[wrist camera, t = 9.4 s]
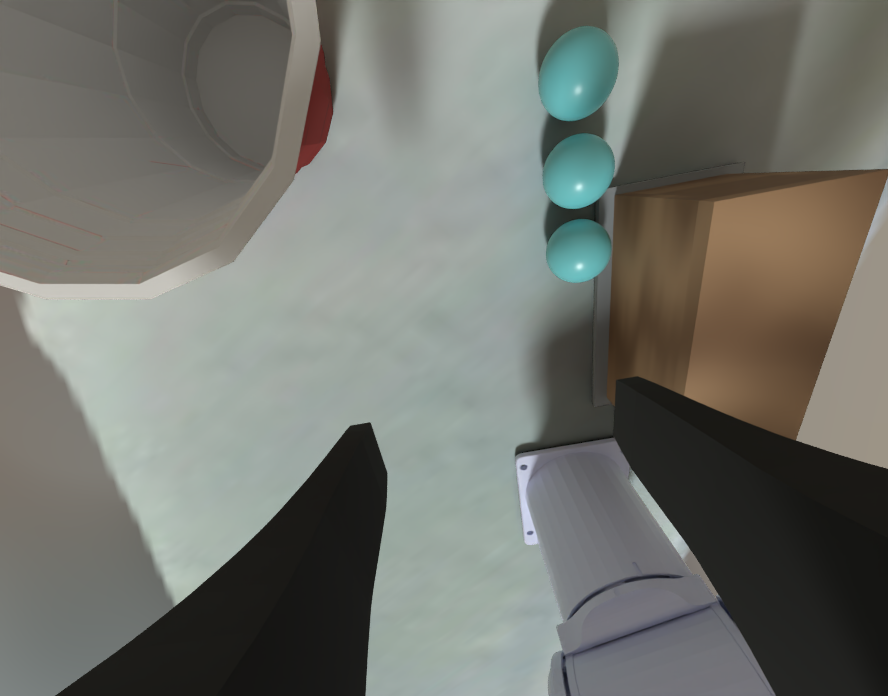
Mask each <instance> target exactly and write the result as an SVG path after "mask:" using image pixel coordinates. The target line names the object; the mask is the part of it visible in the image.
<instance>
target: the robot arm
mask: <svg viewBox="0 0 888 696" xmlns="http://www.w3.org/2000/svg"><path fill="white" fill-rule="evenodd" d="M613 436H614V438H609V439H603V440H597V441H591V442H585V443H579V444H573V445H567V446H561V447H555V448H549V449H543V450H537V451H531V452H525V453H520V454H518V455H517V456H516V457H515V465H516V474H517V483H518V492H519V500H520V509H521V518H522V527H523V536H524V541H525V543H526V544H528V545H533V544H539V547H540V550H541V554H542V557H543V560H544V563H545V567H546V570H547V573H548V576H549V579H550V583H551V586H552V589H553V592H554V596H555V599H556V602H557V605H558V608H559V612H560V615H561V618H562V620H563V623H562V624H560V625H557V627H556V628H557V632H558V635H559V639H560V642H561V646H562V649H563V650H561V651H559V652H556V653H554V655H553V656H552V659H551V668H550V672H549V676H548V694H549V696H888V469H886V468H883V467H879V466H875V465H871V464H868V463H864V462H861V461H858V460H854V459H851V458H848V457H844V456H841V455H838V454H835V453H832V452H829V451H826V450H823V449H820V448H817V447H813V446H811V445H808V444H804V443H802V442H798V441H795V440H793V439H790V438H787V437H784V436H781V435H779V434H776V433H773V432H771V431H768V430H765V429H763V428H760V427H758V426H755V425H752V424H750V423H747V422H745V421H742V420H740V419H737V418H735V417H732V416H730V415H727V414H725V413H723V412H720V411H718V410H715V409H713V408H711V407H709V406H706V405H704V404H702V403H699V402H697V401H695V400H692V399H690V398H688V397H686V396H683V395H681V394H679V393H677V392H674V391H672V390H670V389H668V388H665V387H663V386H661V385H658V384H656V383H654V382H651V381H649V380H646V379H644V378H641V377H638V376H635V377H630V378H624V379H618V380H616V391H615V410H614V430H613ZM521 465H524V466H521ZM629 467H631V468H632V470H633V471H634V473H635V474H636V475H637V477H638V478H639V480H640V481H641V482H642V484H643V485H644V486H645V488H646V489H647V491H648V492H649V493H650V495H651V496H652V497H653V499H654V500H655V501H656V503H657V504H658V505H659V507H660V508H661V510H662V511H663V512H664V514H665V515H666V516H667V518H668V519H669V520H670V522H671V523H672V524H673V526H674V527H675V529H676V530H677V531H678V533H679V534H680V535H681V537H682V538H683V539H684V541H685V542H686V544H687V545H688V547H689V548H690V550H691V551H692V552H693V554H694V555H695V557H696V558H697V560H698V562H699V563H700V564H701V566H702V568H703V570H704V571H705V573H706V575H707V576H708V578H709V580H710V581H711V583H712V585H713V586H714V588H715V590H716V591H717V593H718V594H719V595H716V598H717V600H716V598H715V597H714V595H713V594H712V593H711V591H710V590H709V588H708V587H707V585H706V584H705V582H704V581H703V580H702V578H701V577H700V575H698V574H694V575H693V574H692V573H691V571H690V570H689V568H688V567H687V565H686V564H685V562H684V561H683V559H682V558H681V556H680V555H679V553H678V552H677V550H676V549H675V548H674V546H673V545H672V543H671V542H670V540H669V539H668V537H667V536H666V534H665V533H664V531H663V530H662V528H661V527H660V526H659V524H658V523H657V521H656V520H655V518H654V517H653V515H652V514H651V512H650V511H649V509H648V508H647V507H646V505H645V504H644V502H643V501H642V499H641V498H640V496H639V495H638V493H637V492H636V490H635V489H634V487H633V486H632V485H631V483H630V482H629ZM386 502H387V471H386V468H385V465H384V462H383V459H382V456H381V453H380V450H379V447H378V444H377V441H376V438H375V435H374V432H373V429H372V426H371V423H370V422H369V423H364V424H358V425H352V426H350V427H349V428H348V429H347V430H346V431H345V433H344V434H343V435H342V437H341V438H340V439H339V440H338V442H337V443H336V444H335V445H334V447H333V448H332V449H331V451H330V452H329V453H328V454H327V456H326V457H325V458H324V459H323V461H322V462H321V463H320V464H319V466H318V467H317V468H316V469H315V471H314V472H313V473H312V474H311V475H310V477H309V478H308V479H307V480H306V481H305V483H304V484H303V485H302V486H301V487H300V488H299V489H298V491H297V492H296V493H295V494H294V495H293V496H292V497H291V498H290V500H289V501H288V502H287V503H286V504H285V505H284V506H283V508H282V509H281V510H280V511H279V512H278V513H277V514H276V515H275V516H274V517H273V518H272V519H271V520H270V521H269V522H268V523H267V524H266V526H265V527H264V528H263V529H262V530H261V531H260V532H258V533H257V534H256V535H255V536H254V537H253V538H252V539H251V540H250V541H249V542H248V543H247V544H246V545H245V546H244V547H243V548H242V549H241V550H240V551H239V552H238V553H237V554H236V555H234V556H233V557H232V558H231V559H230V560H229V561H228V562H227V563H225V564H224V565H223V566H222V567H221V568H220V569H219V570H217V571H216V572H215V573H214V574H213V575H212V576H211V577H209V578H208V579H207V580H206V581H205V582H204V583H203V584H201V585H200V586H199V587H198V588H197V589H196V590H195V591H193V592H192V593H191V594H190V595H189V596H187V597H186V598H185V599H184V600H183V601H181V602H180V603H179V604H178V605H176V606H175V607H174V608H173V609H171V610H170V611H169V612H168V613H166V614H165V615H164V616H163V617H161V618H160V619H159V620H158V621H156V622H155V623H154V624H152V625H151V626H150V627H149V628H147V629H146V630H145V631H144V632H142V633H141V634H140V635H138V636H137V637H136V638H134V639H133V640H132V641H130V642H129V643H128V644H126V645H125V646H124V647H122V648H121V649H120V650H118V651H117V652H116V653H114V654H113V655H111V656H110V657H109V658H107V659H106V660H104V661H103V662H102V663H100V664H99V665H97V666H96V667H95V668H93V669H92V670H91V671H89V672H88V673H86V674H85V675H84V676H82V677H81V678H79V679H78V680H77V681H75V682H74V683H72V684H71V685H70V686H68V687H67V688H65V689H64V690H63V691H61V692H60V693H58V694H57V695H56V696H365V693H366V675H367V656H368V642H369V628H370V614H371V604H372V595H373V588H374V581H375V575H376V569H377V563H378V557H379V550H380V544H381V538H382V532H383V525H384V519H385V512H386Z"/></svg>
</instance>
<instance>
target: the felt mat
mask: <svg viewBox="0 0 888 696" xmlns="http://www.w3.org/2000/svg"><path fill="white" fill-rule="evenodd" d="M744 166H745V162H742V163H735V164H729V165H724V166H719V167H714V168H708V169H703V170H698V171H693V172H687V173H682V174H677V175H672V176H666V177H661V178H656V179H651V180H645V181H640V182H635V183H630V184H624V185H619V186H614V187H609V188H608V189H607V190H606V192H605V193H604V194H603V195H602V196H601V197H600V198H599V199H598V200H596V207H595V222H597V223H599V224H600V225H601V226H602V227H603V228H604V229H605V230H606V231H607V232H608V234H609V236H610V239H611V244H612V248H613V222H614V197H615V195H618V194H624V193H629V192H634V191H639V190H645V189H650V188H655V187H661V186H666V185H671V184H677V183H682V182H687V181H692V180H698V179H703V178H708V177H714V176H719V175H724V174H738V173H743V171H744ZM611 273H612V251H611V257H610V260H609V262H608V264H607V265H606V267H605V268H604V270H603V271H602V272H601V273H600V274H598V275H597V276H596V277H594V329H593V390H592V404H593V405H594V406H595V407H599V406H604V405H610V404H612V403H611V402H610V400H609V399H608V398H607V375H608V349H609V324H610V299H611Z"/></svg>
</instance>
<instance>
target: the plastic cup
mask: <svg viewBox="0 0 888 696" xmlns="http://www.w3.org/2000/svg"><path fill="white" fill-rule="evenodd" d="M332 115H333V106H332V97H331V88H330V78H329V75H328V72H327V69H326V66H325V57H324V52H323V48H322V45H321V39H320V31H319V23H318V16H317V8H316V0H0V285H1V286H4V287H7V288H11V289H14V290H17V291H21V292H24V293H27V294H30V295H34V296H37V297H40V298H44V299H152V298H155V297H157V296H159V295H161V294H163V293H166V292H168V291H170V290H172V289H175V288H177V287H179V286H181V285H183V284H186V283H188V282H190V281H192V280H194V279H197V278H199V277H201V276H203V275H205V274H208V273H210V272H212V271H214V270H216V269H219V268H221V267H223V266H225V265H228V264H230V263H232V262H234V260H235V259H236V258H237V256H238V255H239V254H240V252H241V251H242V250H243V248H244V247H245V246H246V244H247V243H248V241H249V240H250V239H251V237H252V236H253V235H254V233H255V232H256V231H257V229H258V228H259V227H260V225H261V224H262V222H263V221H264V220H265V218H266V217H267V216H268V214H269V213H270V212H271V210H272V209H273V208H274V206H275V205H276V203H277V202H278V201H279V199H280V198H281V197H282V195H283V194H284V193H285V191H286V190H287V189H288V187H289V186H290V184H291V183H292V182H293V180H294V177H295V174H296V173H298V171H299V170H300V169H301V167H304V166H306V165H308V164H310V162H311V161H312V160H313V158H314V157H315V156H316V155H317V153H318V152H319V151H320V149H321V148H322V147H323V145H324V144H325V143H326V140H327V136H328V132H329V128H330V124H331V119H332Z"/></svg>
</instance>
